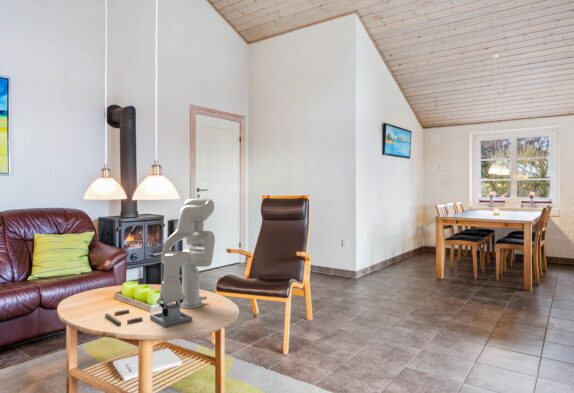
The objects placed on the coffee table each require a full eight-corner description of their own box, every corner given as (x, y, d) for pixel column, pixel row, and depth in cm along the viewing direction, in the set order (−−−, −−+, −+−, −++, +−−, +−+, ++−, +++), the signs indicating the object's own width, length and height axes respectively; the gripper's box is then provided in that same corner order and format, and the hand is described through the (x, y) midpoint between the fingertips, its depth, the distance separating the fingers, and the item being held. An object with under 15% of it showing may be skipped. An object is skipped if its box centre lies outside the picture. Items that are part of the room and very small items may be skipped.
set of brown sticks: (128, 312, 213) (128, 309, 213) (142, 320, 200) (142, 317, 200) (105, 316, 205) (105, 313, 205) (118, 325, 192) (118, 322, 192)
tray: (176, 313, 212) (176, 309, 212) (192, 321, 201) (192, 317, 200) (150, 318, 203) (150, 314, 203) (165, 327, 191) (165, 323, 191)
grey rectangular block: (171, 315, 207) (171, 301, 206) (180, 319, 200) (180, 305, 200) (162, 317, 203) (162, 303, 203) (170, 322, 197) (170, 307, 196)
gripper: (183, 274, 210) (183, 309, 210) (151, 279, 198) (151, 316, 198) (190, 277, 204) (190, 313, 205) (158, 282, 192) (158, 320, 193)
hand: (171, 314), depth 202 cm, fingers open, 5 cm apart
